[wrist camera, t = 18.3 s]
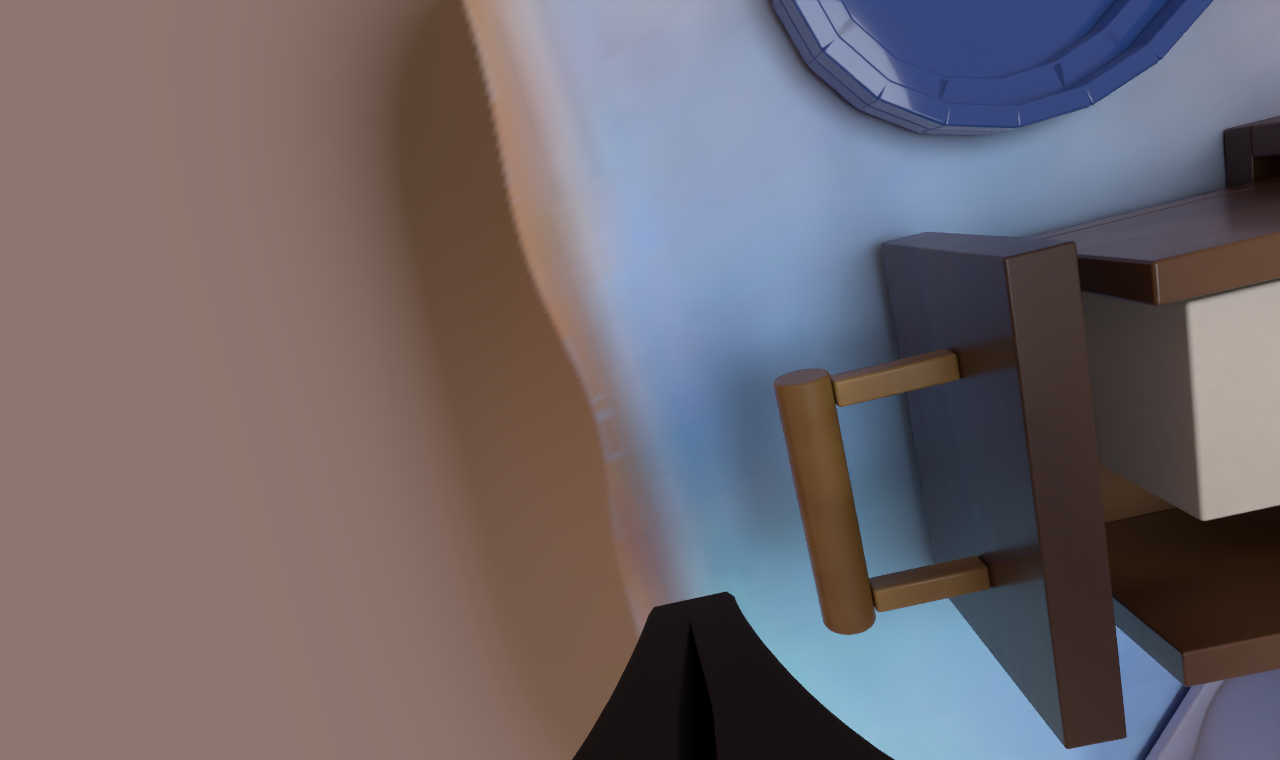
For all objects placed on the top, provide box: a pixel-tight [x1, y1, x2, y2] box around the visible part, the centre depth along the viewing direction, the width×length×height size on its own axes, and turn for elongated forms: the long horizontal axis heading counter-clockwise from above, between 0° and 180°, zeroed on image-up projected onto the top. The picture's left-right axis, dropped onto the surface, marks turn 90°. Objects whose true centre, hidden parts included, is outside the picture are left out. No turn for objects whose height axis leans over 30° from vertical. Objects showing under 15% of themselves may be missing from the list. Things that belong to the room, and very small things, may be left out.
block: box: [1081, 278, 1280, 521], centre depth 15 cm, size 4×4×4 cm
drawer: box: [773, 176, 1280, 749], centre depth 15 cm, size 17×10×6 cm, turn 104°
